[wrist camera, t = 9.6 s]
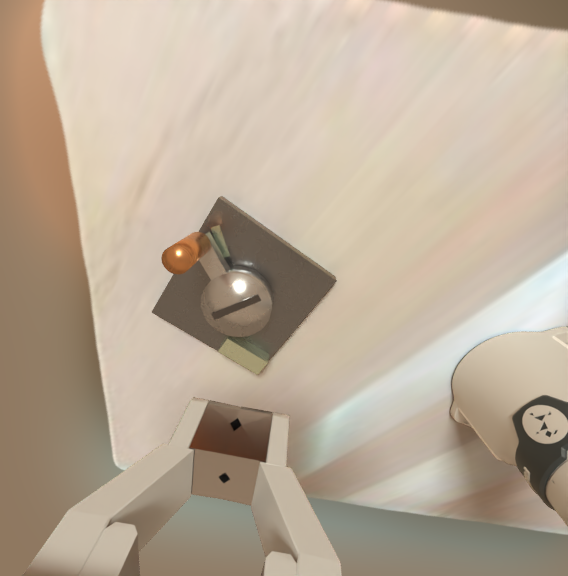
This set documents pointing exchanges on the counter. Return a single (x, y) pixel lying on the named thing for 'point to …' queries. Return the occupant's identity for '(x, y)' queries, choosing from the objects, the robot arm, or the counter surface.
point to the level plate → (265, 260)
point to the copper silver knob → (223, 286)
